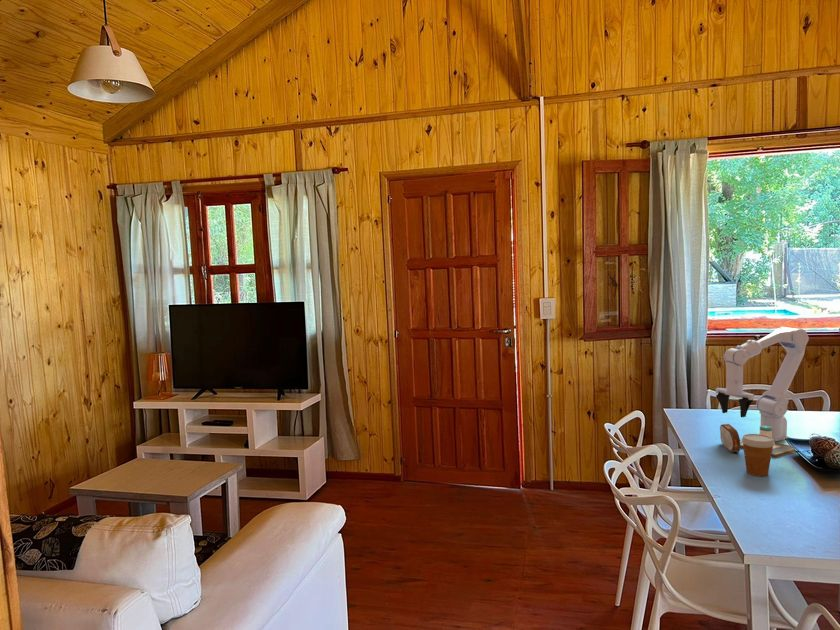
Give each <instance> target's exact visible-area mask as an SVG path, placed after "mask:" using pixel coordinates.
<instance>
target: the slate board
mask: <svg viewBox="0 0 840 630" xmlns="http://www.w3.org/2000/svg"><path fill="white" fill-rule="evenodd" d="M774 442H775V444H774V446H773V449H772V454H771V458H774V459H775V458H776V459H777V458H781V457H783V456H786V455H790V454H794V453H796V452H795V448H794V447H795V446H794V445H789V444H784V443H781V442H779V441H774ZM740 449H742V450H744V447H743V443H742V440H740Z"/></svg>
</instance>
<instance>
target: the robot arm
mask: <svg viewBox="0 0 840 630" xmlns="http://www.w3.org/2000/svg"><path fill="white" fill-rule="evenodd" d="M809 340H810V338H809V335H808V333H807V331H806V330H805V329H803V328H793V327H787V326H780V327H779V328H776V329H774V331H773V332H770V333H769V334H767V335H766V336H763V337H762V338H760V339H758V340H755V339H748V340H746V342H744V343H742V344H741V345H739V344H738V345H736V346H735V348H733V347H731V348H728V349H726V350H725V352H724V354H723V355H722V358H723V361H724V362H725V366H726V370H725V372H726V375H725V378H726V381H725V383H726V384H725V388H722V387H716V388H715V394H716V395H715V396H716V399H717V400H718V403H719V404H720V408H721V413H722V414H726V413H728V410H729V399H730V396H732V397H736V398H739V399H738V402H739V403H738V404H739V408H740V412H739V413H740V414H739V416H740V417H741V418H745V417H747V413H748V410H749V408H750V406H751V404H752V403H753V401H754V399H755V394H754V393H749V392H746V391H744V365H745V364H746V363H747V361H748V360H749V359H751V358H753V357H756V356H757V355H760V354H761V353H762V350H763V349H765V348H768V347H771V346H772V345H775V344H777V343H779V344H780V345H781V346H782V348H783V349H784V350H785V352H786V354H785V356H784V359H783V361H782V363H781V365H780V368H779V369H778V371H777V374H776V376H775V378H774V380H773V382H772V384H771V387H770V388H769V389H768V390H765V391H763V393H762V395H761V396H759V398H758V399H757V400H756V403H755V406H756V409H757V410H758V411H759V414H760V422H759V423H760V425H759V427H760V426H770V427H772V438H773V441H774V442H779V441H782V440H785V438H786V439H788V438H787V437H789V436H788V435H787V434H788V432H787V431H788V420H787V418H786V417H785V415H786V413H787V412H788V404H789V403H790V401H789V399H788V398H787V396H786V394H787V392H788V390H789V389H790V386H791V384H792V382H793V379H794V377H795V376H796V373H797V371H798V369H799V366H800V365H801V362H802V361H803V358H804V356H805V350H806V346H807V344H808V342H809ZM789 438H790V437H789Z"/></svg>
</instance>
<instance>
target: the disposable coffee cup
mask: <svg viewBox="0 0 840 630" xmlns="http://www.w3.org/2000/svg"><path fill="white" fill-rule="evenodd" d="M741 441H742V443H743V447H744V449H743V453H744V455H743V456H744V463H745V470H746V473H747V474H749V475H751V476H755V477H766V476H769V471H770V466H771V459H772V457H771V454H772V449H773V446H774V444H775V442H776V441H773V438H772V437H769V436H766V435H761V434H760V433H759V434H758V433H745V434H744V435H743V436H742V438H741Z"/></svg>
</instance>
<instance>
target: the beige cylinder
mask: <svg viewBox="0 0 840 630" xmlns="http://www.w3.org/2000/svg"><path fill="white" fill-rule="evenodd" d="M759 434H761V435H766V436H769V437H772V427H770V426H760V425H759Z"/></svg>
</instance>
